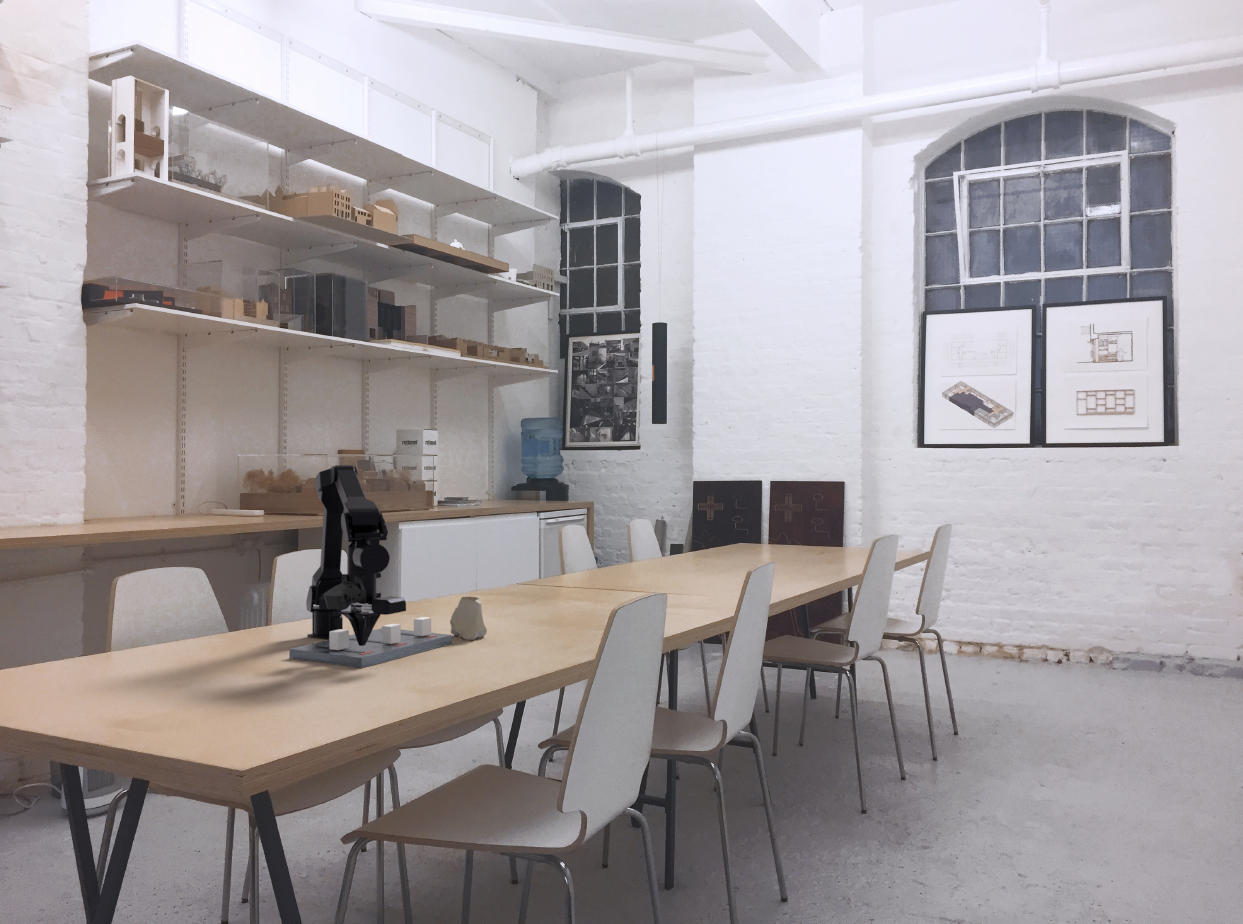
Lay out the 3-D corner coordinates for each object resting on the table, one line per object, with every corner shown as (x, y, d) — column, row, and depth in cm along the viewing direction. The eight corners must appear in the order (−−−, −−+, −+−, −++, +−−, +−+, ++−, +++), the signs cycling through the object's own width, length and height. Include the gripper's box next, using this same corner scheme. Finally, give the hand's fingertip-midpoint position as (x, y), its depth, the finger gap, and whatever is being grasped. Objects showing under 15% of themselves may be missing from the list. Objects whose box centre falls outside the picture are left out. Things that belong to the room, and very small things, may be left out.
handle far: (413, 635, 205) (413, 618, 205) (422, 632, 208) (422, 616, 208) (422, 636, 204) (422, 619, 204) (431, 633, 206) (431, 617, 206)
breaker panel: (289, 658, 192) (289, 648, 192) (383, 636, 216) (383, 627, 216) (361, 668, 182) (361, 657, 182) (451, 643, 207) (451, 634, 207)
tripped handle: (329, 648, 190) (329, 631, 190) (340, 646, 192) (340, 629, 192) (338, 650, 188) (338, 632, 188) (348, 647, 191) (348, 630, 191)
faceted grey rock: (486, 646, 215) (498, 604, 218) (470, 639, 208) (484, 597, 211) (453, 638, 218) (466, 598, 221) (437, 632, 212) (451, 590, 215)
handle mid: (382, 642, 196) (382, 625, 196) (391, 640, 199) (391, 623, 199) (390, 643, 195) (390, 626, 195) (400, 641, 198) (400, 624, 198)
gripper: (298, 570, 185) (298, 648, 185) (368, 575, 176) (368, 657, 176) (339, 564, 195) (339, 638, 195) (407, 569, 186) (407, 647, 186)
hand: (362, 645), depth 187 cm, fingers closed
